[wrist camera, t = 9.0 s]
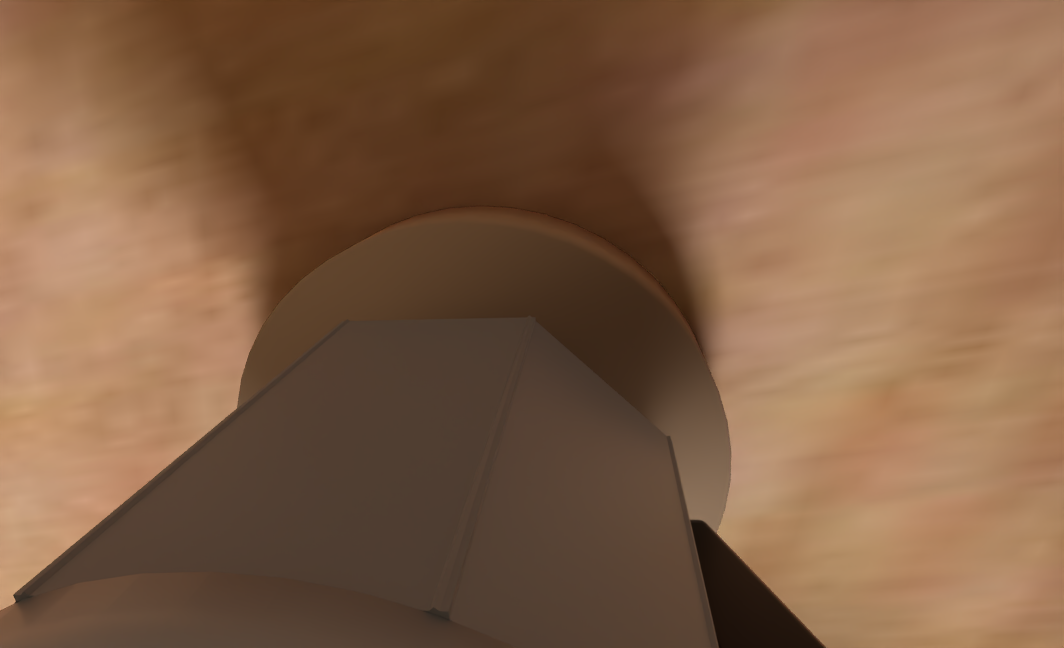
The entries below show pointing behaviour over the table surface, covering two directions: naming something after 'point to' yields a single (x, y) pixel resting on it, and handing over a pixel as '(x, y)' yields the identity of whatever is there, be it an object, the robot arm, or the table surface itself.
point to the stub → (519, 291)
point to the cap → (397, 512)
